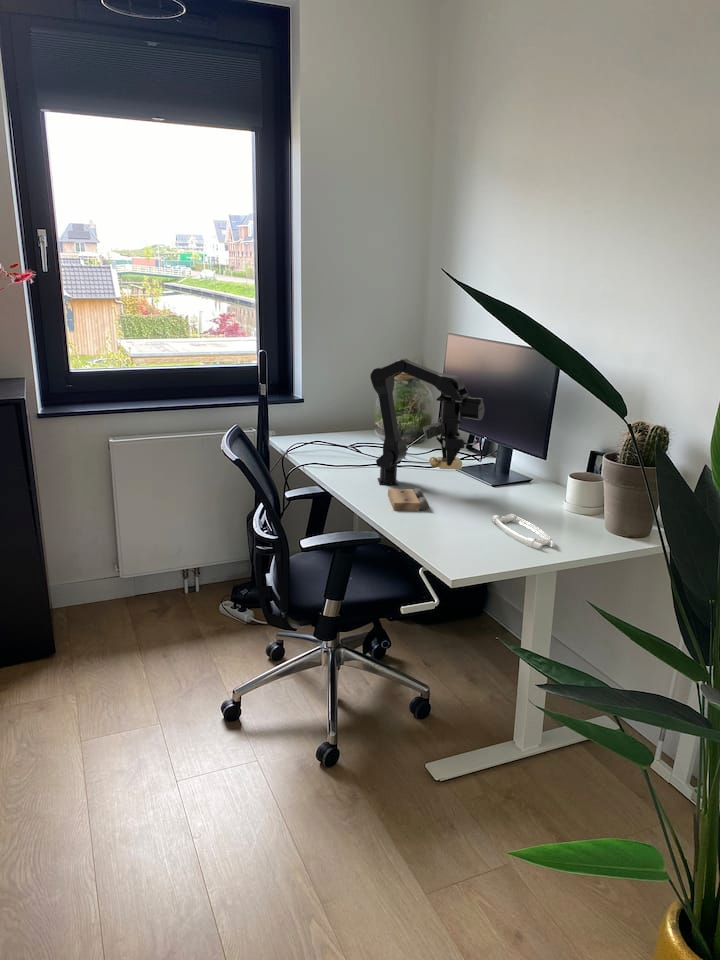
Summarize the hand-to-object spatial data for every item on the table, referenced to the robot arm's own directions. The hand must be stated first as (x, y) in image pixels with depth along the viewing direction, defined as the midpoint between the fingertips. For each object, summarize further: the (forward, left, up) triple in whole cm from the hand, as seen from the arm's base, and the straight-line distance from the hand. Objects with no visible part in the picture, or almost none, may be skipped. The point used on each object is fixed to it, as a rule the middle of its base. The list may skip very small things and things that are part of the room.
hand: (446, 462), depth 236 cm
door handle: (+36, +15, -11) cm, 41 cm away
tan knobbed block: (0, -1, -1) cm, 1 cm away
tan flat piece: (+10, -14, -11) cm, 20 cm away
